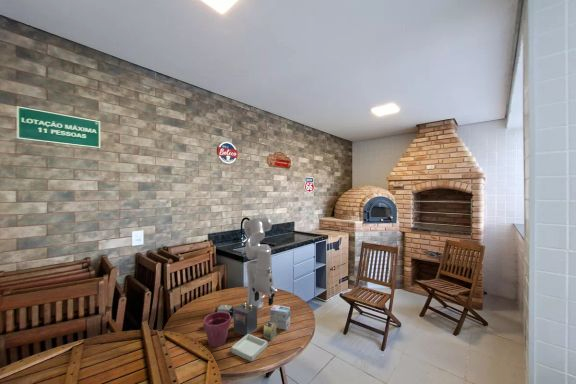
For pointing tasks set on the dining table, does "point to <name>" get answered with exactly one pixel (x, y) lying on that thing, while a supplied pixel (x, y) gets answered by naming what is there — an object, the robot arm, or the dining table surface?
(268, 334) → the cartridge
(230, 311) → the pneumatic valve
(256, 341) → the tray
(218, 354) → the dining table surface
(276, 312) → the light bulb box
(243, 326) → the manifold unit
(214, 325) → the plant pot
